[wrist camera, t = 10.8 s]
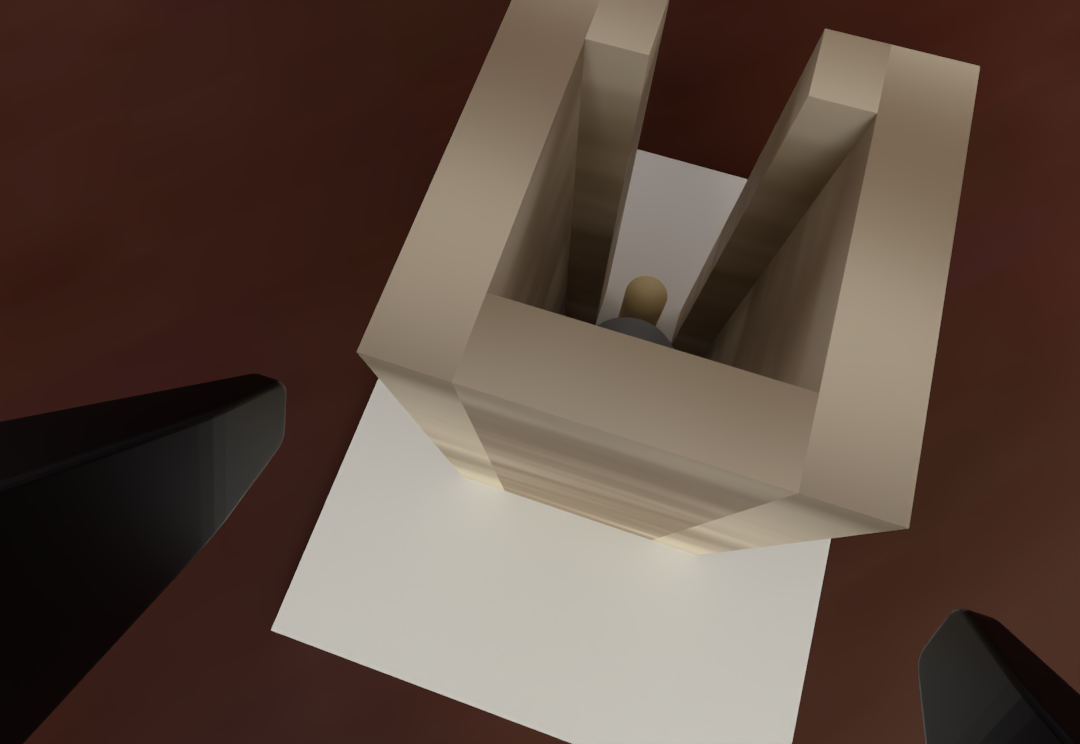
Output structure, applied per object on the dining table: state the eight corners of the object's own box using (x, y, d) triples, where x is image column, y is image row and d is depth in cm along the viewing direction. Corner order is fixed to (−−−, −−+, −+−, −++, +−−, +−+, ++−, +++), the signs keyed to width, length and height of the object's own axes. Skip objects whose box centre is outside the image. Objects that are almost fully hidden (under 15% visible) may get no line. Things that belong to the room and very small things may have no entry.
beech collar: (696, 555, 18) (908, 528, 7) (462, 476, 19) (356, 351, 8) (751, 333, 20) (979, 66, 9) (538, 270, 21) (531, -43, 10)
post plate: (761, 804, 17) (850, 898, 12) (287, 626, 19) (193, 645, 14) (873, 237, 22) (968, 140, 17) (495, 132, 24) (482, 15, 19)
